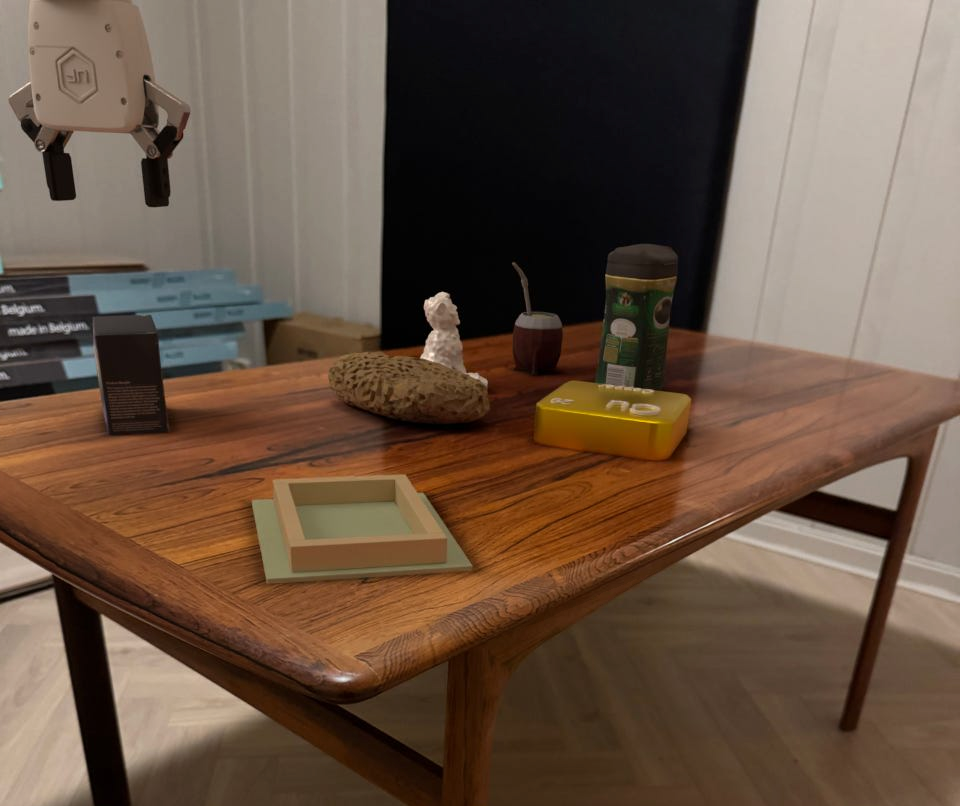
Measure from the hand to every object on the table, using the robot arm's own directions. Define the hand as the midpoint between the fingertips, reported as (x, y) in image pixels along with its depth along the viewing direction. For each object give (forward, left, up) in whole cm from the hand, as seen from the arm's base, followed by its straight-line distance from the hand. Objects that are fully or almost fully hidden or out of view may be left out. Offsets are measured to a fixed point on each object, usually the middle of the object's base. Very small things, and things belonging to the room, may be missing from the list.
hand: (110, 203), depth 89 cm
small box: (0, +5, -22) cm, 23 cm away
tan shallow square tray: (+18, -32, -22) cm, 43 cm away
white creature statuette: (+38, +19, -22) cm, 47 cm away
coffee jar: (+62, +15, -22) cm, 67 cm away
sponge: (+30, +5, -22) cm, 37 cm away
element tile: (+51, -6, -22) cm, 56 cm away
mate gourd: (+53, +28, -22) cm, 63 cm away
